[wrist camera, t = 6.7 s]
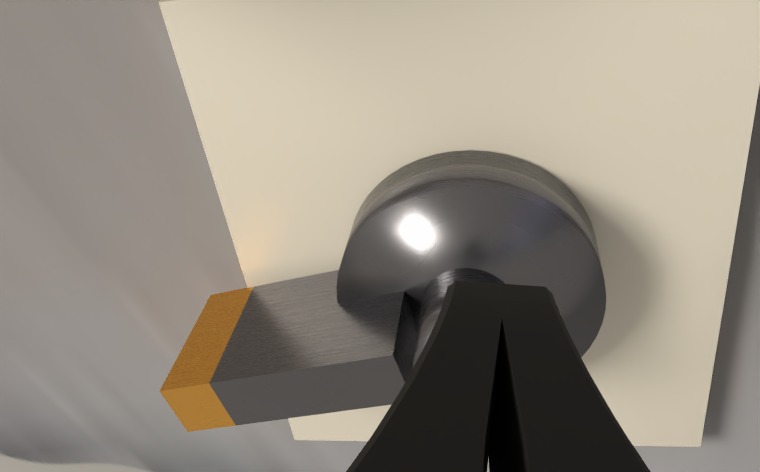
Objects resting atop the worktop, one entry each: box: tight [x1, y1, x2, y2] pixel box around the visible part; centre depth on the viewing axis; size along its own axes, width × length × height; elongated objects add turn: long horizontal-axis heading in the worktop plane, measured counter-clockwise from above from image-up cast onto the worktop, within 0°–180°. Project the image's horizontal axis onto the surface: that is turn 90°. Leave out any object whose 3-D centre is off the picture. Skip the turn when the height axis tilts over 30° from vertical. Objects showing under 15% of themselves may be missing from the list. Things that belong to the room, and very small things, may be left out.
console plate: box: [159, 0, 760, 447], centre depth 20 cm, size 14×16×1 cm
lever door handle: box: [160, 150, 606, 432], centre depth 19 cm, size 12×7×4 cm, turn 109°
